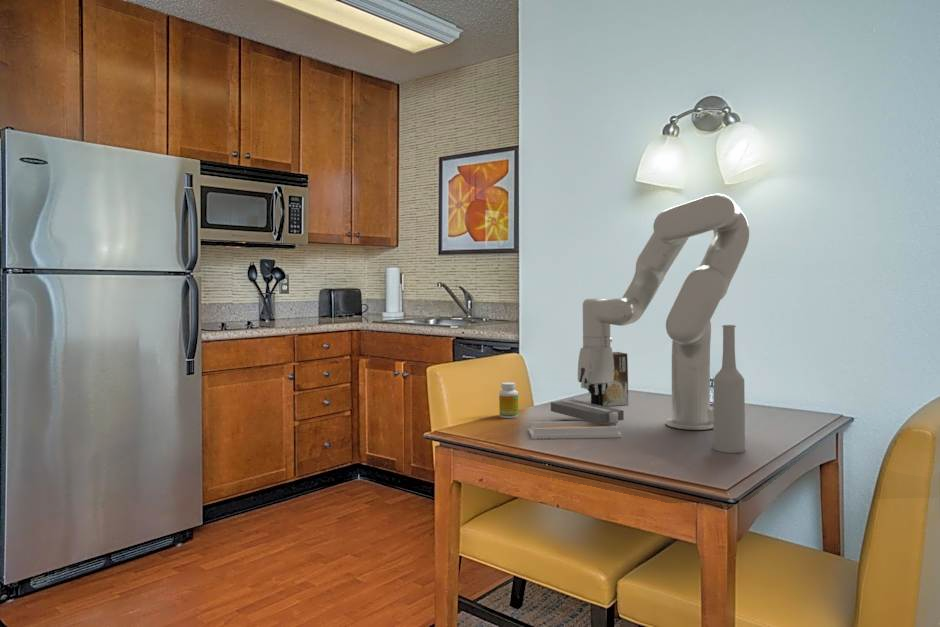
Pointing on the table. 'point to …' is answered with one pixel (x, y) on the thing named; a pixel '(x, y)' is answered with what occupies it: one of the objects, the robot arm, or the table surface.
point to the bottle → (729, 400)
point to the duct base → (573, 430)
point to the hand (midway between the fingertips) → (597, 407)
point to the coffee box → (618, 382)
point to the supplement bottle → (508, 400)
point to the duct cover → (588, 411)
